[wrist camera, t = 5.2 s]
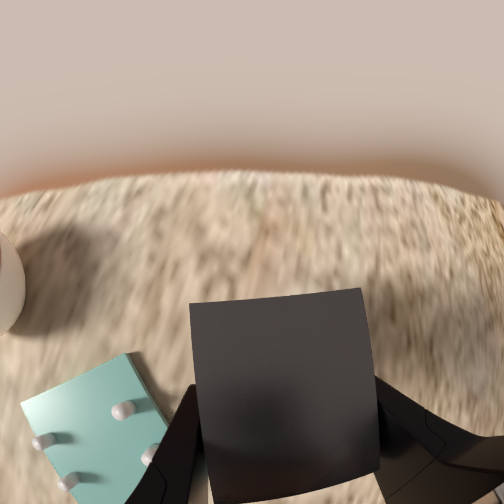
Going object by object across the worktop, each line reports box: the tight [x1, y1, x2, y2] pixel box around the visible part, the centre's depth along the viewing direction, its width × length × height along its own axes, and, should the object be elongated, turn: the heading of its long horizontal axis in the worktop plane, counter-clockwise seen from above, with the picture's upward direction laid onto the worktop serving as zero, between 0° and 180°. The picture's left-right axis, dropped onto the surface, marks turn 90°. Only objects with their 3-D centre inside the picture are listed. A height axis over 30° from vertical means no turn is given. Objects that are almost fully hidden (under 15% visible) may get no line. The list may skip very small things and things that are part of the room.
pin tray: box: [20, 353, 169, 504], centre depth 16 cm, size 12×13×4 cm
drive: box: [189, 288, 380, 504], centre depth 11 cm, size 6×5×10 cm
